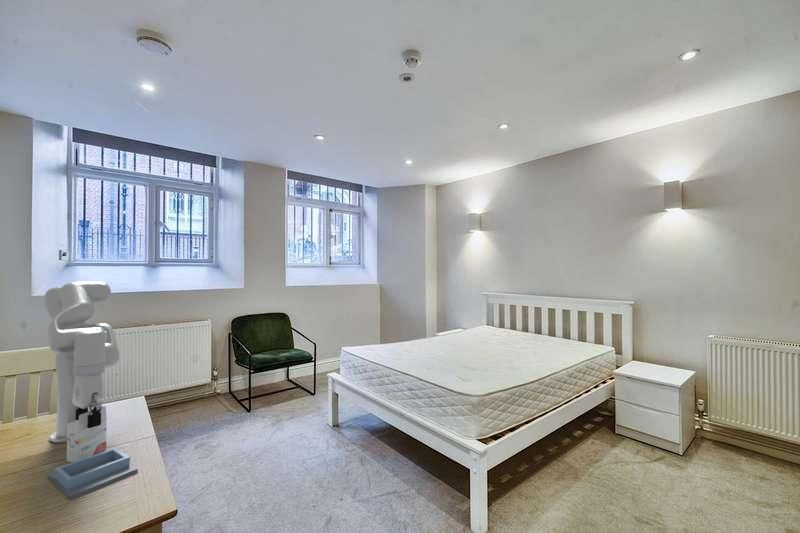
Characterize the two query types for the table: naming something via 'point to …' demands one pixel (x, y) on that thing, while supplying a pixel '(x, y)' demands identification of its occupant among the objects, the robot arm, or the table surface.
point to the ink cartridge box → (85, 437)
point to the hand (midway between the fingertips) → (88, 423)
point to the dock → (92, 472)
